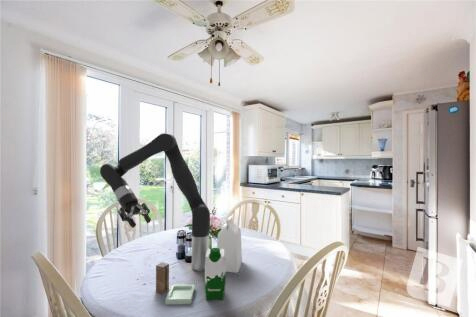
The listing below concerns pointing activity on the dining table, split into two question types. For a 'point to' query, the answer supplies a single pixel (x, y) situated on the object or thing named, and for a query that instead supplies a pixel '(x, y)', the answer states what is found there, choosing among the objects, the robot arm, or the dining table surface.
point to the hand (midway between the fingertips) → (142, 224)
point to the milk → (231, 245)
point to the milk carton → (215, 274)
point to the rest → (180, 294)
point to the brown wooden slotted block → (162, 277)
